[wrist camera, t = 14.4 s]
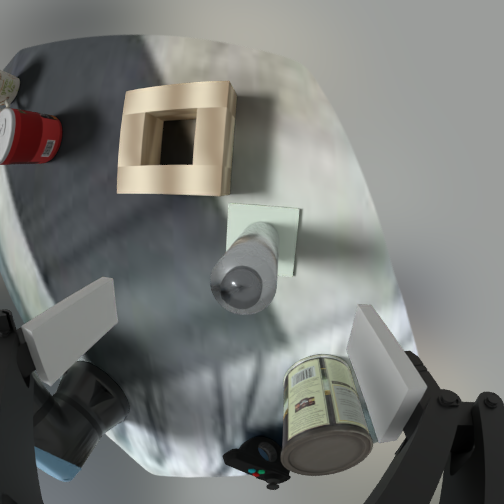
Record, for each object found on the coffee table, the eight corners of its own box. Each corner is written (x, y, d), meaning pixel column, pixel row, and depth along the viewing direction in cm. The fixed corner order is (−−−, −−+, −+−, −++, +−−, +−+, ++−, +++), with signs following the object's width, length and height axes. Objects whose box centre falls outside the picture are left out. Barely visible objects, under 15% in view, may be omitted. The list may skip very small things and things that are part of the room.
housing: (138, 191, 32) (116, 193, 27) (145, 101, 29) (126, 91, 24) (229, 194, 31) (220, 196, 26) (237, 95, 28) (229, 80, 23)
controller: (279, 454, 41) (277, 494, 32) (226, 430, 40) (215, 473, 31) (294, 445, 40) (294, 487, 30) (239, 420, 39) (230, 465, 30)
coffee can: (324, 411, 37) (333, 480, 24) (270, 390, 37) (263, 465, 23) (366, 368, 35) (391, 439, 21) (309, 342, 34) (319, 420, 21)
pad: (226, 269, 33) (225, 270, 33) (229, 203, 31) (228, 203, 31) (292, 275, 32) (292, 276, 32) (299, 208, 30) (299, 208, 30)
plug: (240, 257, 32) (206, 317, 18) (242, 219, 31) (206, 252, 16) (277, 260, 32) (272, 325, 17) (281, 223, 31) (279, 259, 16)
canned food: (64, 109, 30) (14, 99, 19) (63, 156, 32) (10, 155, 21) (36, 124, 31) (-10, 120, 20) (36, 168, 33) (-13, 171, 22)
